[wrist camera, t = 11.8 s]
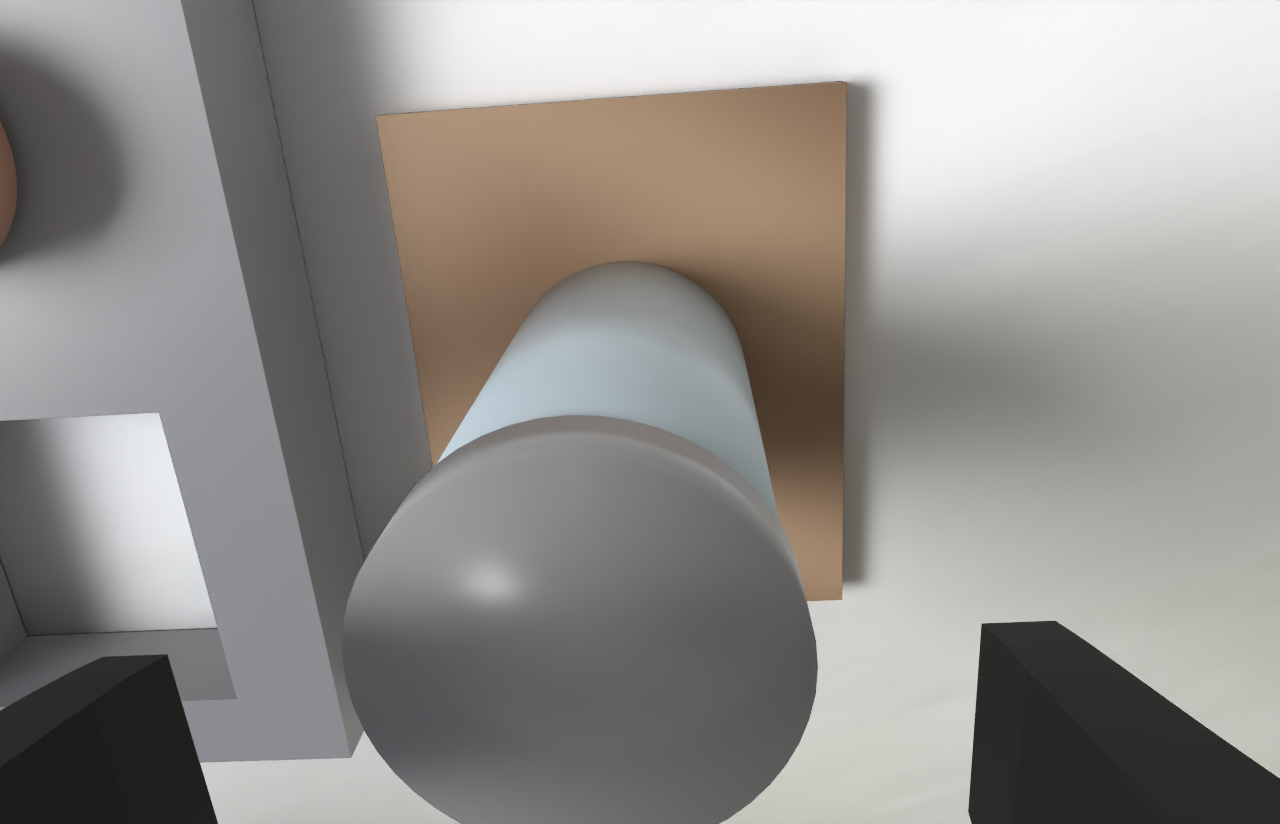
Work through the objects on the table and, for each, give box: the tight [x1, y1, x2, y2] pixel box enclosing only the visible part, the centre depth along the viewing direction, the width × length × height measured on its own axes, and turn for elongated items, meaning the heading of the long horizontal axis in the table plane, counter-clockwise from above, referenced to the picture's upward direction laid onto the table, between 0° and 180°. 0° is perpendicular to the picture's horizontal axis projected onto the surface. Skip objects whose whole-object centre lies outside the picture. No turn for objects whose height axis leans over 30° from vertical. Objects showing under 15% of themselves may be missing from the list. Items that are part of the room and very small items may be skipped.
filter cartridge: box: [342, 261, 818, 824], centre depth 13 cm, size 5×5×9 cm
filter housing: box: [0, 0, 364, 762], centre depth 17 cm, size 16×10×2 cm, turn 4°
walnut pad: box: [376, 81, 847, 601], centre depth 18 cm, size 10×8×1 cm
